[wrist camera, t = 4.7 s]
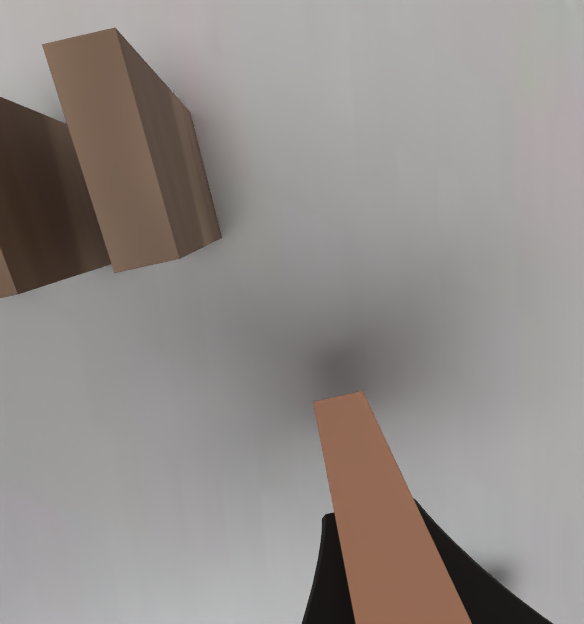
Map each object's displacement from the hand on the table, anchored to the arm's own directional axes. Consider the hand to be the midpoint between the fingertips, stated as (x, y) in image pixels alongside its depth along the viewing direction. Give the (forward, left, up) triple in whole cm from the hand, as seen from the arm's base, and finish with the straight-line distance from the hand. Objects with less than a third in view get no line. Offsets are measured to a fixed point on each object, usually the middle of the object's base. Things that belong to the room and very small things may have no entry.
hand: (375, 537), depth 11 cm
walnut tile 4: (-4, +10, -9) cm, 14 cm away
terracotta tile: (0, 0, -3) cm, 3 cm away
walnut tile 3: (-8, +10, -9) cm, 16 cm away
